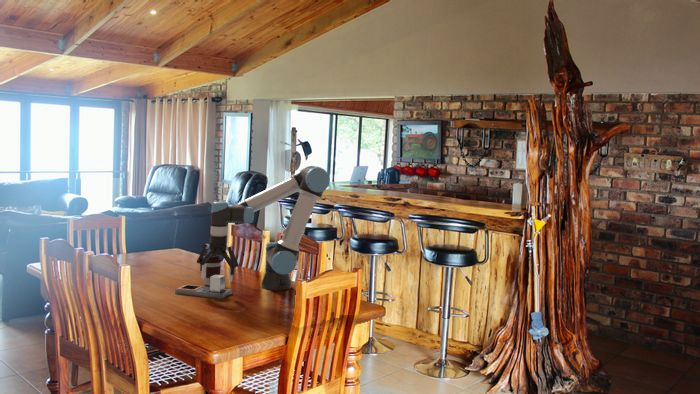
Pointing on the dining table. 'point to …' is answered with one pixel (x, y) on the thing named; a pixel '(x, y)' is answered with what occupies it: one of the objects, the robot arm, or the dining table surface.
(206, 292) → the grey tray
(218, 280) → the block
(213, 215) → the robot arm
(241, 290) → the dining table surface
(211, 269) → the coffee cup
